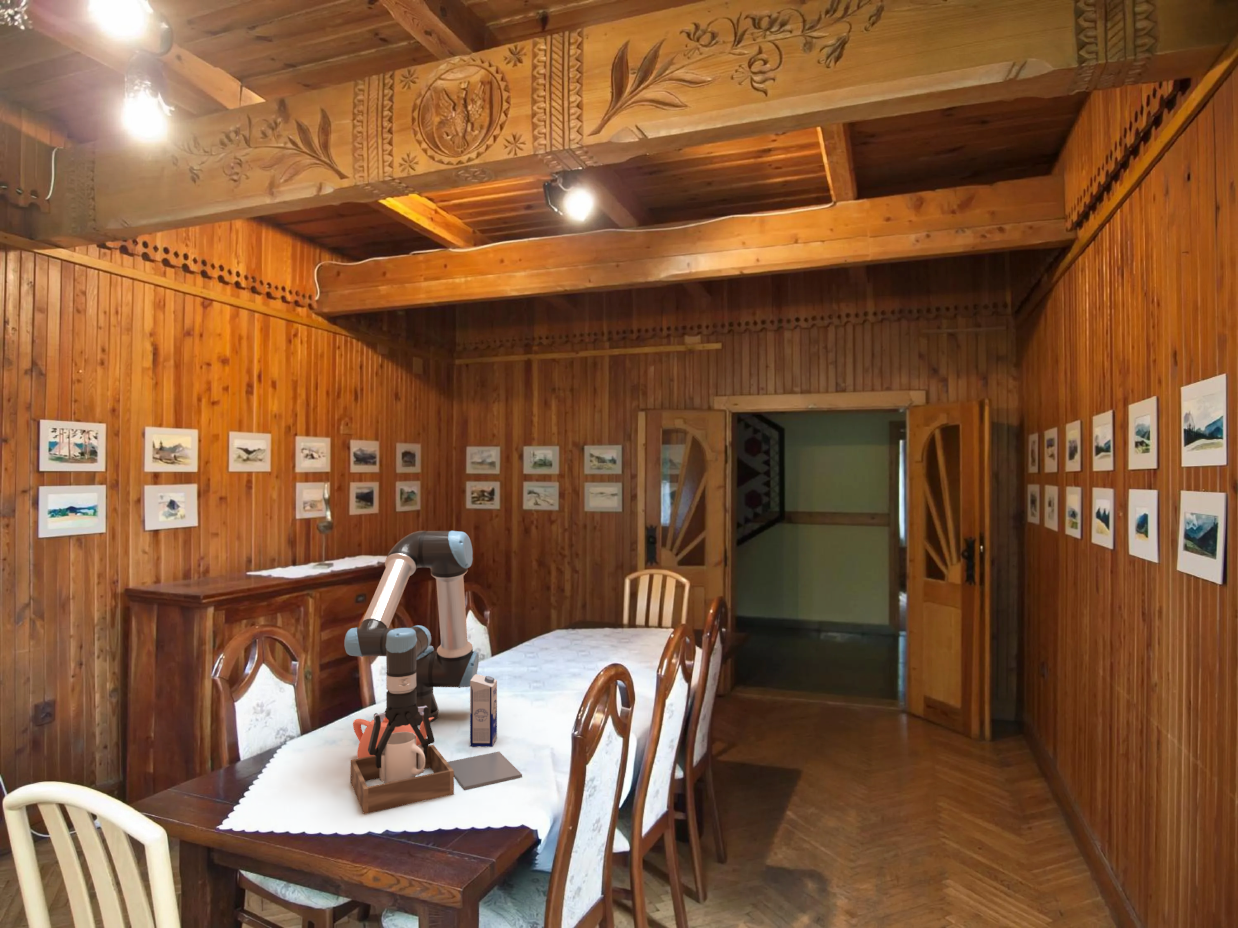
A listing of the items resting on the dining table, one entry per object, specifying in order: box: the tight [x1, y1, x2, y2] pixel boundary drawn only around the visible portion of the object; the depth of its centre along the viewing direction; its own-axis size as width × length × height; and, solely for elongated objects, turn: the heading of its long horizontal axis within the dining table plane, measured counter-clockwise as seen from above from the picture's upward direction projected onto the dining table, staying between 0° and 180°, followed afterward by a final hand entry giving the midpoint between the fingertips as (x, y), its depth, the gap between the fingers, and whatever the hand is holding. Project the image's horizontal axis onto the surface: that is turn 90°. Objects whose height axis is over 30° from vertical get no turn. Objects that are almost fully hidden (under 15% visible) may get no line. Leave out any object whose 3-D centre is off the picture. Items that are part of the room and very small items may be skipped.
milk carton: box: [469, 673, 498, 748], centre depth 219 cm, size 7×7×20 cm
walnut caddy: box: [349, 744, 455, 815], centre depth 187 cm, size 20×22×6 cm
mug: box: [383, 732, 425, 783], centre depth 188 cm, size 9×12×11 cm
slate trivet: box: [447, 751, 523, 791], centre depth 198 cm, size 18×16×1 cm
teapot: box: [352, 717, 434, 759], centre depth 205 cm, size 25×17×13 cm
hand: (401, 774), depth 187 cm, fingers closed on mug, 9 cm apart
